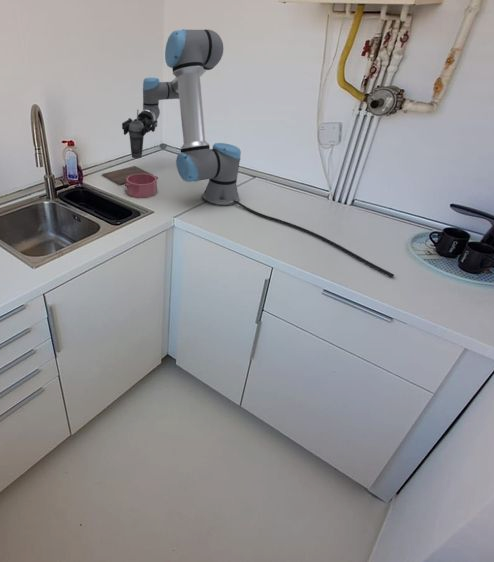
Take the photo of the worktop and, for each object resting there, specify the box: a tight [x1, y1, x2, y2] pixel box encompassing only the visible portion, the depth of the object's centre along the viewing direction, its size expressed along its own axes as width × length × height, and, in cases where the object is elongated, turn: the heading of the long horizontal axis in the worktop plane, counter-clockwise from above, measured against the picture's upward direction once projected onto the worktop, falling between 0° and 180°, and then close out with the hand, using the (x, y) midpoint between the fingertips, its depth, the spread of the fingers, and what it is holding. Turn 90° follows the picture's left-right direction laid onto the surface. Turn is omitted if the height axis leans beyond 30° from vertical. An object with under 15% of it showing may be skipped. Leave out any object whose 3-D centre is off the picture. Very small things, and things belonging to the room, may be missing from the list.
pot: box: [124, 173, 159, 199], centre depth 170 cm, size 14×17×6 cm
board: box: [102, 165, 153, 186], centre depth 187 cm, size 16×20×1 cm
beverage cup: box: [128, 109, 145, 159], centre depth 162 cm, size 7×7×20 cm
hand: (133, 132), depth 157 cm, fingers closed on beverage cup, 7 cm apart
